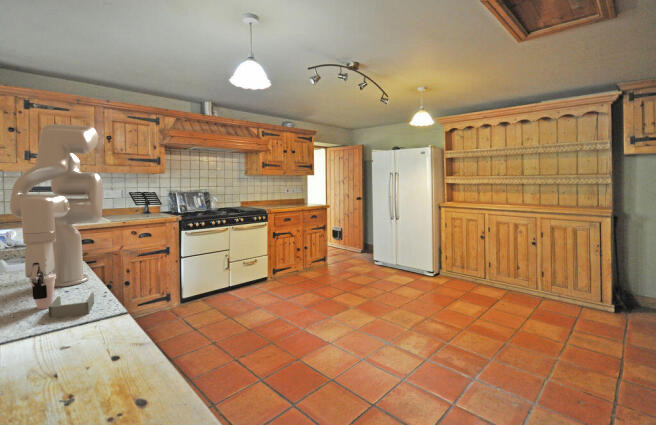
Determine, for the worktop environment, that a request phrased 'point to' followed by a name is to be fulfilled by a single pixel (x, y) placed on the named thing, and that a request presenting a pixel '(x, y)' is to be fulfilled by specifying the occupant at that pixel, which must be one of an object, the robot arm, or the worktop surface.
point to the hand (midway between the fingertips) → (44, 294)
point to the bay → (70, 308)
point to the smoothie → (50, 291)
